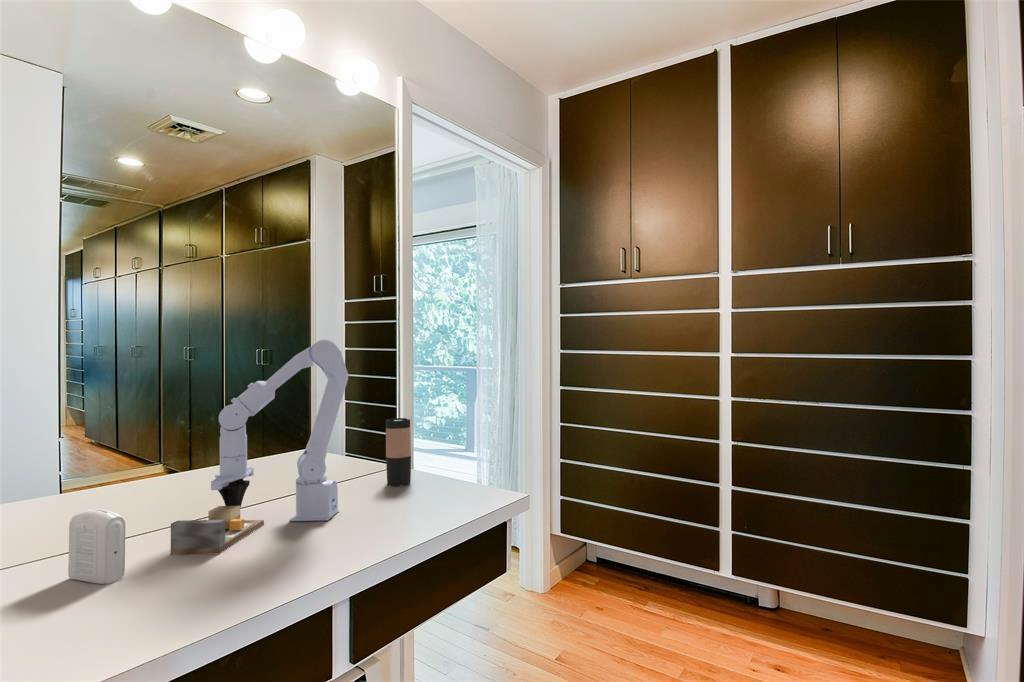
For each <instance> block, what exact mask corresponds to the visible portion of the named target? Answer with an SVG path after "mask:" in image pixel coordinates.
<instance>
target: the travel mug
mask: <svg viewBox="0 0 1024 682" xmlns="http://www.w3.org/2000/svg"><path fill="white" fill-rule="evenodd" d="M411 435H412V434H411V418H409V419H408V418H406V417H395V418H388V419H385V462H386V463H385V464H386V483H387V486H389V485H391V486H390V487H401V486H400V485H404V486H407V485H406V484H408V485H410V484H411V483H412V482H411V475H412V474H411V473H412V472H411V471H412V447H411V446H412V443H411V442H412V441H411V440H412V439H411V437H412V436H411ZM409 483H410V484H409Z"/></svg>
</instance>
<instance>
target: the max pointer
mask: <svg viewBox="0 0 1024 682" xmlns="http://www.w3.org/2000/svg"><path fill="white" fill-rule="evenodd" d="M244 520H245V518H240V519H233V520H231V521H230V530H242V529H243V528H244Z"/></svg>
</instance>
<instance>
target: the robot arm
mask: <svg viewBox="0 0 1024 682" xmlns="http://www.w3.org/2000/svg"><path fill="white" fill-rule="evenodd" d="M315 365H316V366H318V367H319V368H321V370H322V372H323V374H324V376H325V377H326V379H327V382H326V385H325V388H324V392H323V394H322V398H321V401H320V405H319V407H318V411H317V414H316V417H315V420H314V423H313V426H312V430H311V433H310V436H309V439H308V441H307V444H306V447H305V450H304V452H302V454H300V456H299V457H298V459H297V461H296V464H297V465H296V467H297V471H298V477H297V478H296V479H295V515H293V516H292V517H290V518H289V519H288V521H289V522H307V521H309V522H310V521H311V522H315V521H316V522H317V521H328V520H330V519H331V518H333V516H335V515H337V513H338V512H340V510H339V507H338V506H339V504H338V503H339V502H338V498H339V497H338V494H339V493H338V490H339V489H338V483H337V481H336V480H330V479H327V475H326V470H327V465H326V456H327V455H328V454H327V453H328V446H329V442H330V438H331V436H332V432H333V430H334V426H335V423H336V420H337V417H338V413H339V410H340V406H341V403H342V401H343V400H342V399H343V397H344V393H345V391H346V387H347V384H348V381H349V372H348V370H347V367H346V364H345V361H344V357H343V353H342V351H341V350H340V348H339V347H338V346H337V345H336V343H335V342H334V341H332V340H329V339H320V340H317V341H316V342H314V343H313V344H312V345H311V346H308V347H307V348H306V349H304V350H302V351H301V352H298V353H297V354H295V355H294V356H293V357H292V358H291V359H290V360H289V361H287V362H286V363H285V364H284V365H283V366H282V367H281V368H279V369H278V370H277V371H276V372H274V374H273V375H271V376H270V377H269V378H268V379H266V380H257V381H255V382H251V383H249V384H248V385H247V389H245V390H244V392H243V391H242V393H241V394H239V396H237V397H236V398H235V397H233V398H232V399H230V402H231V403H232V404H229V405H225V406H224V408H223V409H222V410H221V411H220V412H219V415H218V423H219V425H220V428H219V429H220V430H219V433H220V436H219V473H217V474H215V475H214V478H215V479H213V480H212V481H210V491H218V492H219V494H220V495H221V498H222V501H223V502H224V506H240V509H241V507H242V503H243V500H244V496H245V494H246V491H247V489H248V487H249V486H250V480H249V479H248V480H246V479H245V478H248V477H253V476H255V473H254V469H255V467H248V435H247V429H246V428H247V427H246V426H247V425H246V423H247V422H248V418H249V417H254V416H255V415H256V414H258V412H260V411H261V410H262V409H264V408H265V407H266V406H267V405H268V404H269V403H271V402H272V401H273V400H274V399H275V396H276V390H277V389H278V388H280V387H281V386H282V385H283V384H285V383H286V382H287V381H288V380H289V379H291V378H292V377H294V376H295V375H296V374H297V373H298V372H300V371H301V370H302V369H305V368H310V367H314V366H315Z"/></svg>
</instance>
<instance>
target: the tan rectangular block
mask: <svg viewBox="0 0 1024 682" xmlns="http://www.w3.org/2000/svg"><path fill="white" fill-rule="evenodd" d="M233 519H241V508H240V506H225V505H218V506H216V507H215V508H214V507H213V508H212V509H210V510H208V518H207V520H225V529H230V521H231V520H233Z"/></svg>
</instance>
